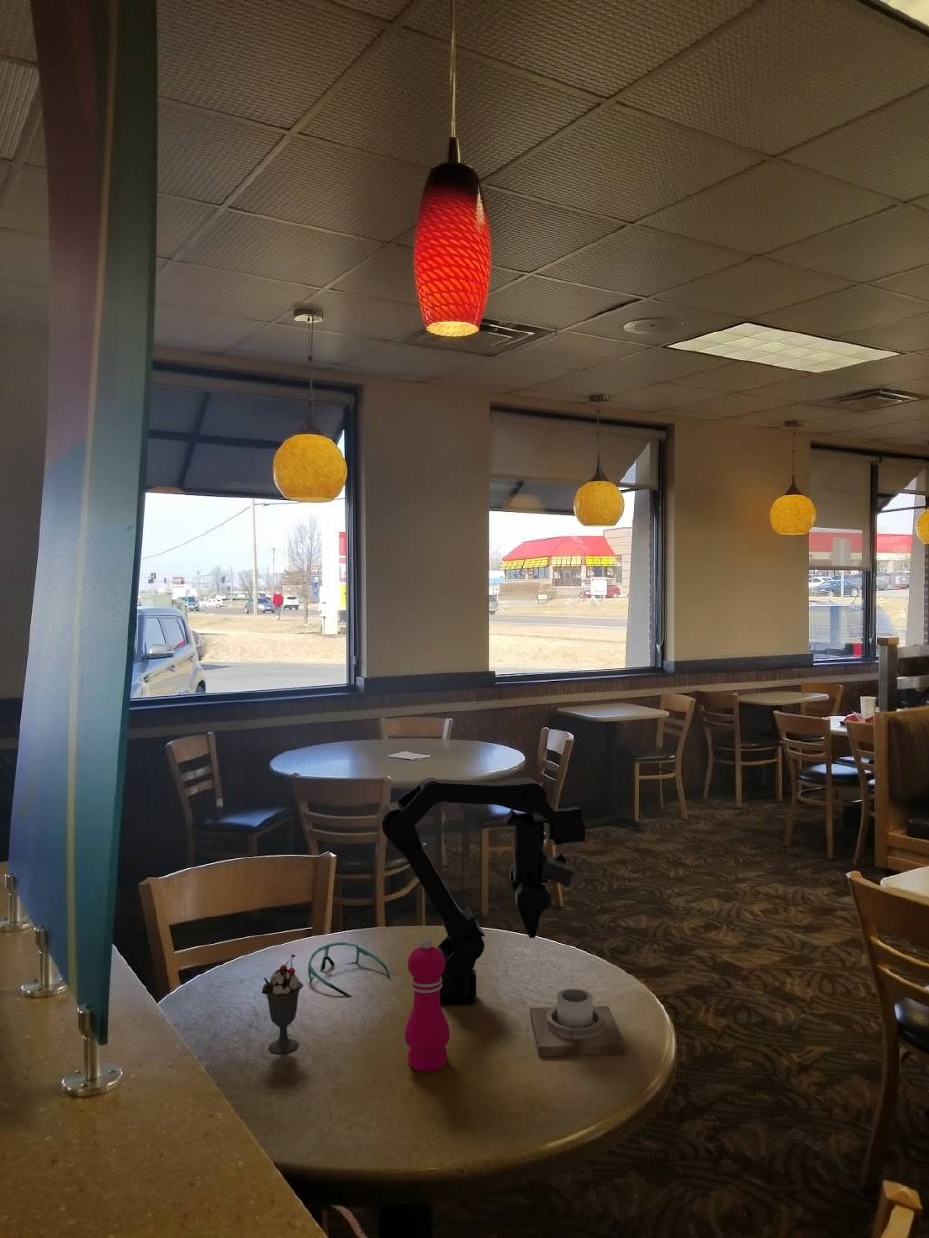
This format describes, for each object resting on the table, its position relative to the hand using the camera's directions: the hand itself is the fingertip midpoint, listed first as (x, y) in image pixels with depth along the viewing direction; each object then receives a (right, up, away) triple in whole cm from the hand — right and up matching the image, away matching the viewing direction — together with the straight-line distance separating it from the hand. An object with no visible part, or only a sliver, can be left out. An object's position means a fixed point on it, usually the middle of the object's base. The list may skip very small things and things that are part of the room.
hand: (529, 928), depth 170 cm
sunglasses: (-35, -13, +7) cm, 38 cm away
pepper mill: (-18, -13, -25) cm, 34 cm away
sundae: (-42, -13, -20) cm, 49 cm away
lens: (+6, -11, -17) cm, 21 cm away
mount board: (+6, -12, -17) cm, 22 cm away
